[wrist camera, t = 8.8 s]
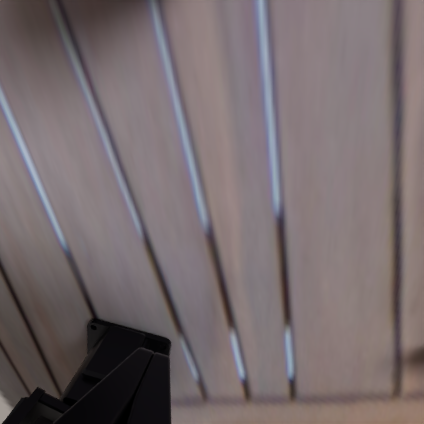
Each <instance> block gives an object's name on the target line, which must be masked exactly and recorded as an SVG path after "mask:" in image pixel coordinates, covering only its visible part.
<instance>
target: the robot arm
mask: <svg viewBox="0 0 424 424" xmlns="http://www.w3.org/2000/svg"><path fill="white" fill-rule="evenodd" d="M87 328H88V355H87V357H86V358H85V360H84V361H83V363H82V364H81V366H80V368H79V369H78V371H77V372H76V374H75V375H74V377H73V378H72V380H71V382H70V383H69V385H68V386H67V388H66V389H65V391H64V392H63V394H62V395H61V397H60V399H57V398H55V397H53V396H51V395H49V394H47V393H45V390H43V389H41V388H39V387H37V388H36V390H35V391H34V392H33V393H32V395H31V396H30V397H26V398H21V400H20V401H19V402H18V404H17V405H16V406H15V408H14V409H13V410H12V412H11V413H10V414H9V416H8V417H7V418H6V419H5V421H4V422H3V423H2V424H171V393H170V359H169V356H170V350H171V342H170V340H169V339H167V338H164V337H160V336H156V335H153V334H149V333H145V332H142V331H138V330H134V329H131V328H127V327H123V326H120V325H116V324H113V323H109V322H105V321H102V320H98V319H92V320H91V321H90V322H89V323H88V326H87ZM163 344H164V345H163Z"/></svg>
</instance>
